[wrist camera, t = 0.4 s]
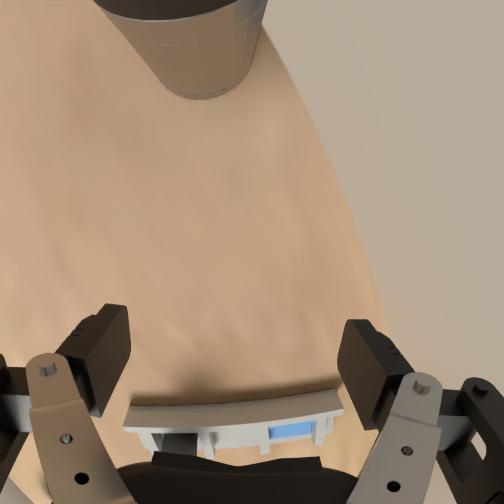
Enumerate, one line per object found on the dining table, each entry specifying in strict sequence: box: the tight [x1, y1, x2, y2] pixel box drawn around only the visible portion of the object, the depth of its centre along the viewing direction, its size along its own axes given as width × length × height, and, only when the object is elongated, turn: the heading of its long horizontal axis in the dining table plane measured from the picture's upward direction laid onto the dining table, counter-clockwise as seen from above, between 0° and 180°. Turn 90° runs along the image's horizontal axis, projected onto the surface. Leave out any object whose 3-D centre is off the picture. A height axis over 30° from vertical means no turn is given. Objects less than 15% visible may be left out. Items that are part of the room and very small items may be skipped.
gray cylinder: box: [161, 433, 198, 456], centre depth 29 cm, size 4×4×14 cm
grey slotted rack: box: [123, 388, 344, 459], centre depth 35 cm, size 8×26×4 cm, turn 95°
